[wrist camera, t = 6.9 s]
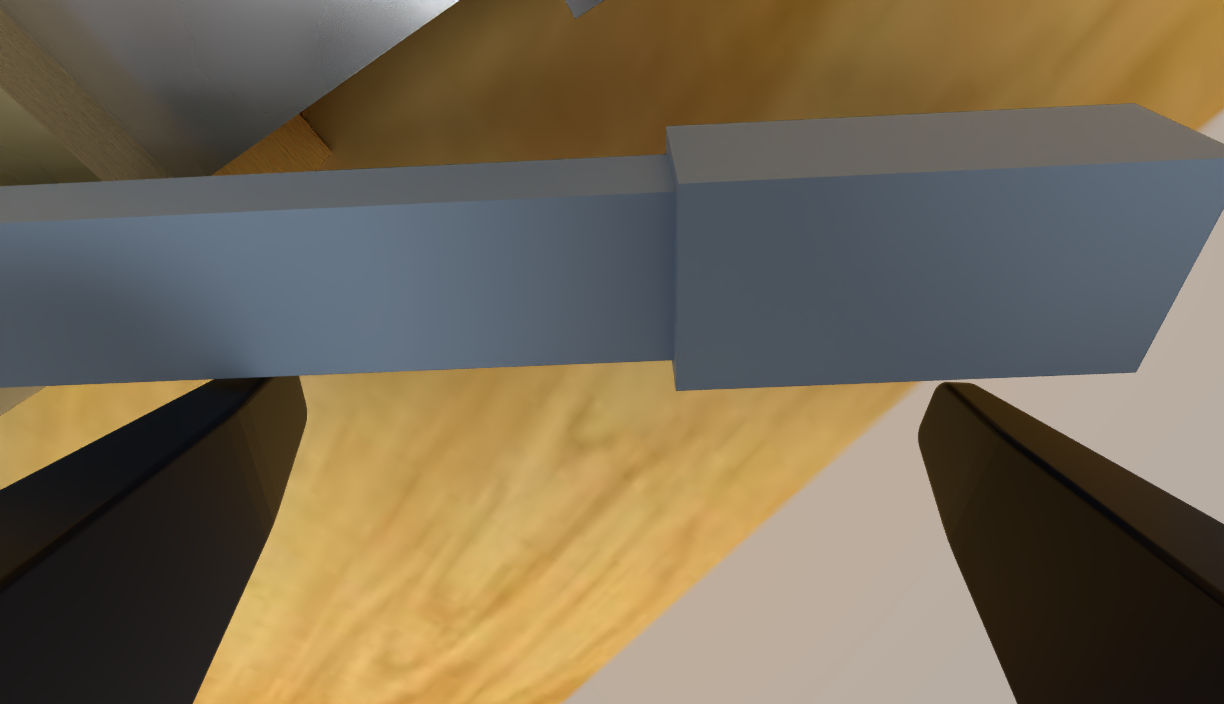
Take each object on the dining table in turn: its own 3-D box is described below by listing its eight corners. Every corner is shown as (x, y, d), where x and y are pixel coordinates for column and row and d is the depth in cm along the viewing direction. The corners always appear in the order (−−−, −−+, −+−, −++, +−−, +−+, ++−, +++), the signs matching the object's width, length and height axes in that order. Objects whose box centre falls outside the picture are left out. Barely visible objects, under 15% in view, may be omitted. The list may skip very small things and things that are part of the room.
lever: (1025, 317, 9) (1113, 413, 8) (-157, 367, 10) (-311, 468, 8) (1133, 35, 7) (1290, 84, 5) (-391, 112, 7) (-667, 182, 6)
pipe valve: (-46, 404, 17) (-249, 573, 13) (-280, 254, 14) (-623, 406, 10) (643, -56, 11) (663, -9, 7) (456, -450, 9) (321, -729, 4)
